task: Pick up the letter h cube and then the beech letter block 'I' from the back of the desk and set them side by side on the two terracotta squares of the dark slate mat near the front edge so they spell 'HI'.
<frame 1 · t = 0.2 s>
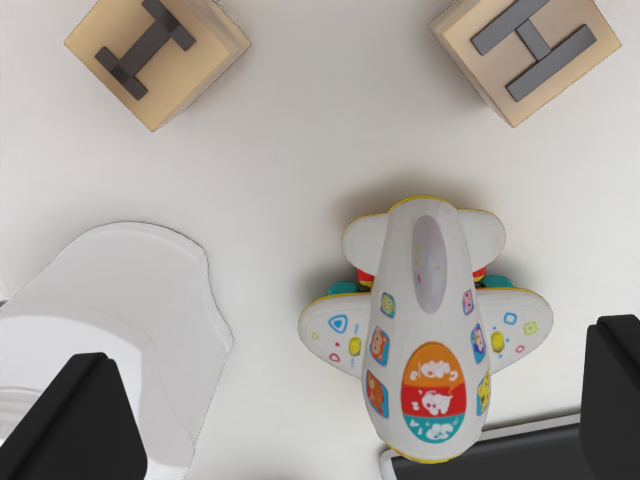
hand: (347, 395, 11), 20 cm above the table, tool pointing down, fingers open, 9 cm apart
jar: (146, 306, 34), on the table
toy airplane: (416, 297, 33), on the table
tile I: (181, 38, 27), on the table
tablet: (595, 478, 37), on the table
letter h cube: (501, 31, 26), on the table
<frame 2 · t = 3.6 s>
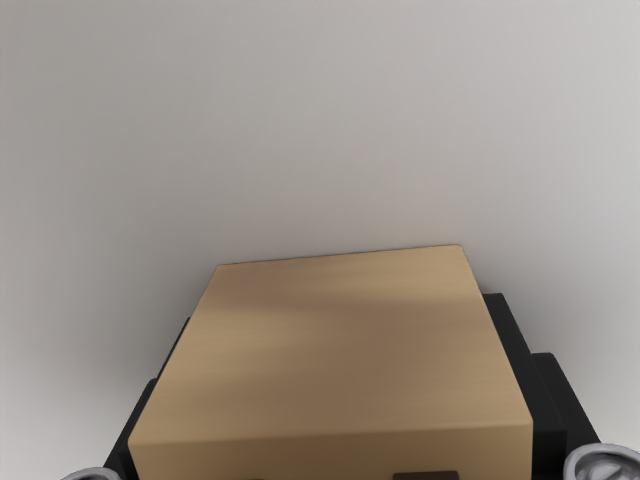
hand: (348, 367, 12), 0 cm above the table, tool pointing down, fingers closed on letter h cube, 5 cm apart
letter h cube: (348, 355, 12), on the table, touching gripper
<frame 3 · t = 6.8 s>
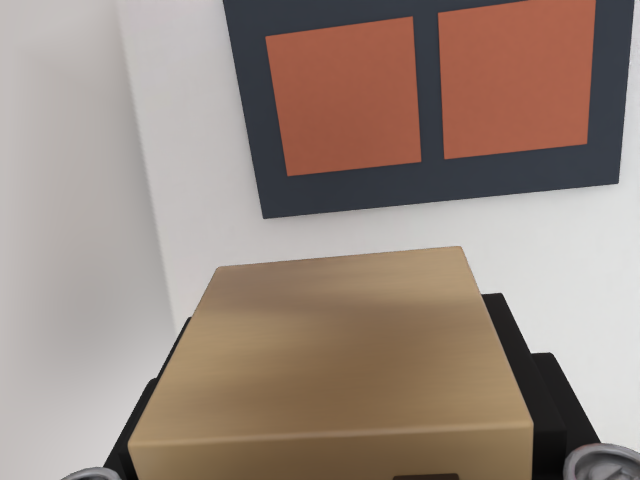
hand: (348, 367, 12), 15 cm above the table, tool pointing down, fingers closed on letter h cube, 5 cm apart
mat: (427, 89, 24), on the table
letter h cube: (349, 356, 12), point 14 cm above the table, touching gripper
when the fingers open (1 cm above the table, at t = 10.5 s): letter h cube stays where it is, resting on mat.
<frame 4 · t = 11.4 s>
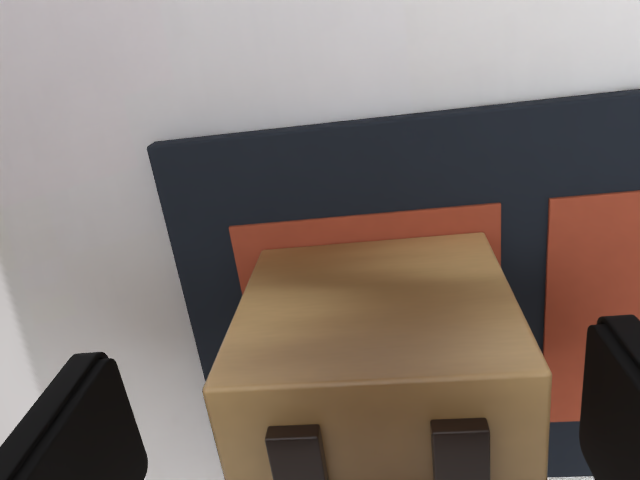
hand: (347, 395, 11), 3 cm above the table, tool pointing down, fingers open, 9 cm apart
mat: (516, 309, 13), on the table
letter h cube: (379, 334, 13), point 1 cm above the table, touching mat
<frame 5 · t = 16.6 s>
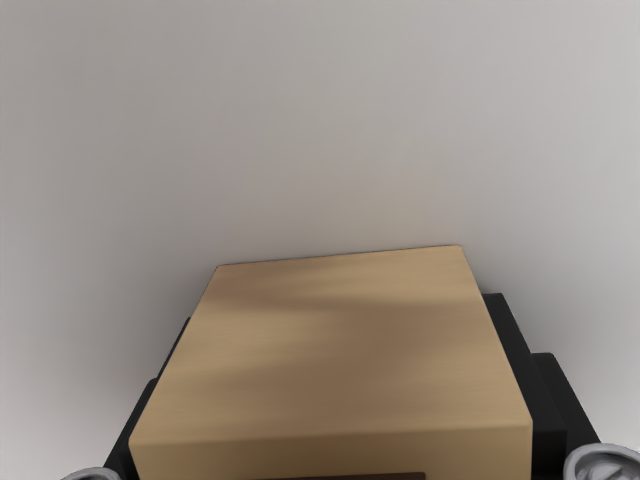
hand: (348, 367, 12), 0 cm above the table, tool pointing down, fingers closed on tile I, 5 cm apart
tile I: (348, 355, 12), on the table, touching gripper
when the fingers open (1 cm above the table, at t = 24.6 s): tile I stays where it is, resting on mat.
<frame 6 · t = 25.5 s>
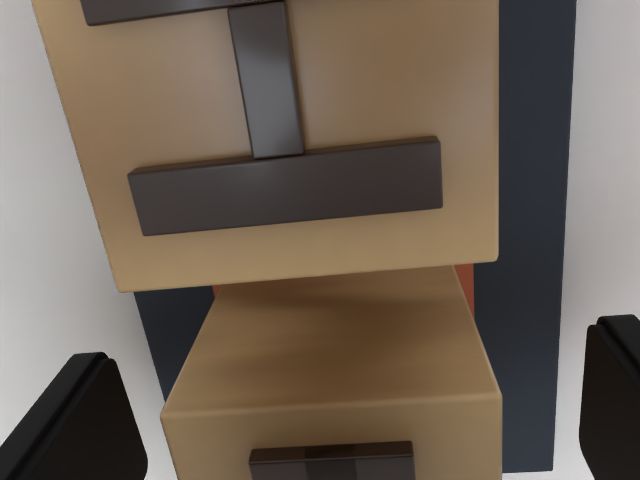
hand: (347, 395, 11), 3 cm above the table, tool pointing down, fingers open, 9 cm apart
mat: (332, 199, 13), on the table
tile I: (347, 350, 13), point 1 cm above the table, touching mat
letter h cube: (307, 47, 11), point 1 cm above the table, touching mat
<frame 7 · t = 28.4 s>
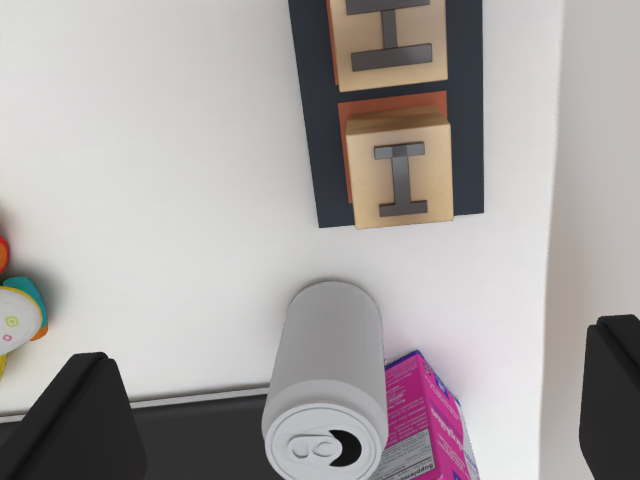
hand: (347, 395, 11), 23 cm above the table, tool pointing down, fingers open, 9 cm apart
beverage can: (333, 315, 38), on the table
mat: (390, 86, 31), on the table
tile I: (394, 152, 32), point 1 cm above the table, touching mat
tablet: (155, 461, 44), on the table
letter h cube: (384, 23, 29), point 1 cm above the table, touching mat
supplement box: (406, 390, 40), on the table
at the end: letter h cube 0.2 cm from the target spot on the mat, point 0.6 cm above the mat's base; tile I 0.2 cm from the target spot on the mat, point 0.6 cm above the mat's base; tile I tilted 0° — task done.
